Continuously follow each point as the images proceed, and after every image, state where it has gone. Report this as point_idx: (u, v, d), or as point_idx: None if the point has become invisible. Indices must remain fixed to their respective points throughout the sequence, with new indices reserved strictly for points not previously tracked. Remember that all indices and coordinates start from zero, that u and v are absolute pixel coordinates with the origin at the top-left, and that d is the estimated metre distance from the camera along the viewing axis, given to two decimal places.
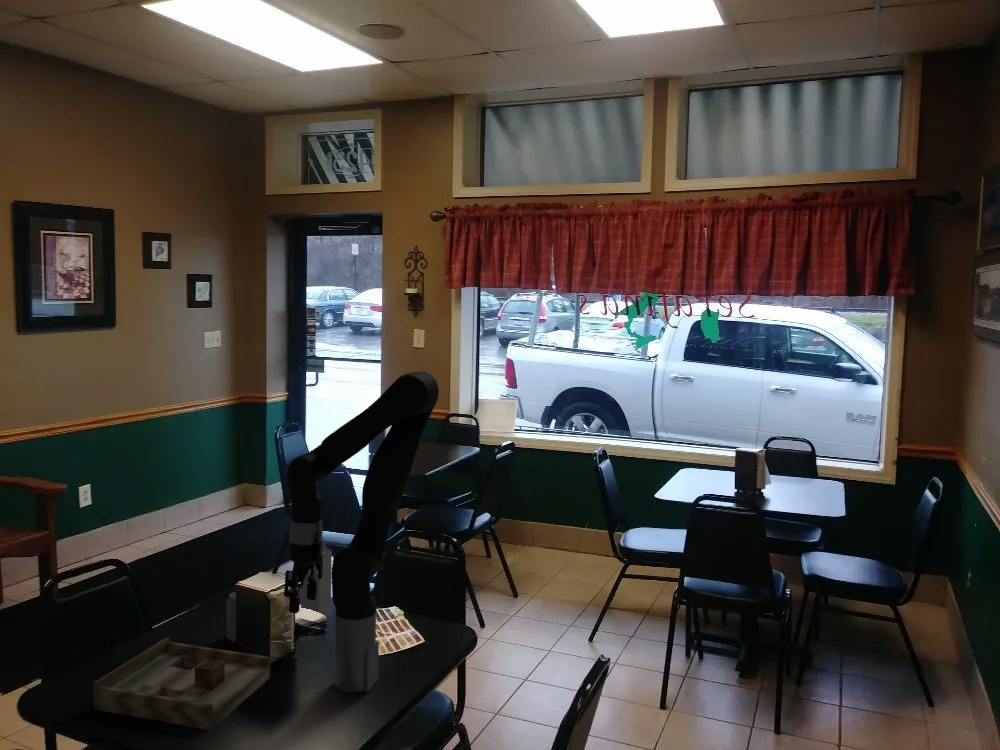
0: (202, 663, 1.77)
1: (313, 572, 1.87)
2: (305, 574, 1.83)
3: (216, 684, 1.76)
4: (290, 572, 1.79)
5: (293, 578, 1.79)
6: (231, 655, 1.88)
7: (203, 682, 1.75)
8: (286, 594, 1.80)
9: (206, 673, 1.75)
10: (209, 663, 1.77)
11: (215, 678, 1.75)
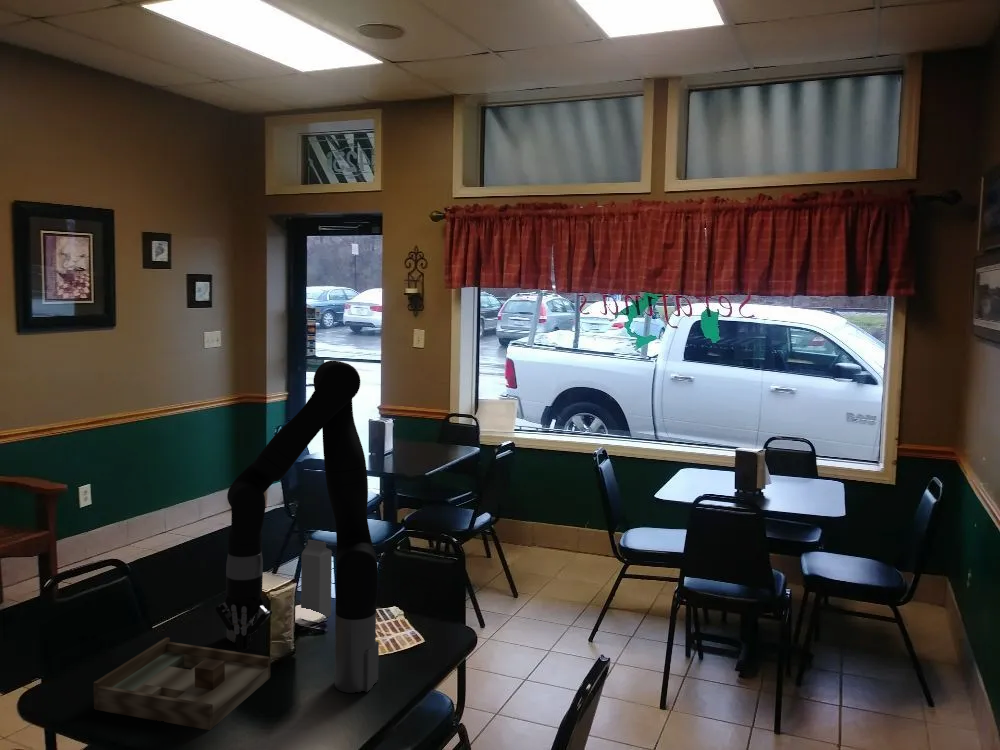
0: (202, 663, 1.77)
1: None
2: None
3: (216, 684, 1.76)
4: (269, 614, 1.72)
5: (268, 617, 1.73)
6: (231, 655, 1.88)
7: (203, 682, 1.75)
8: None
9: (206, 673, 1.75)
10: (209, 663, 1.77)
11: (215, 678, 1.75)
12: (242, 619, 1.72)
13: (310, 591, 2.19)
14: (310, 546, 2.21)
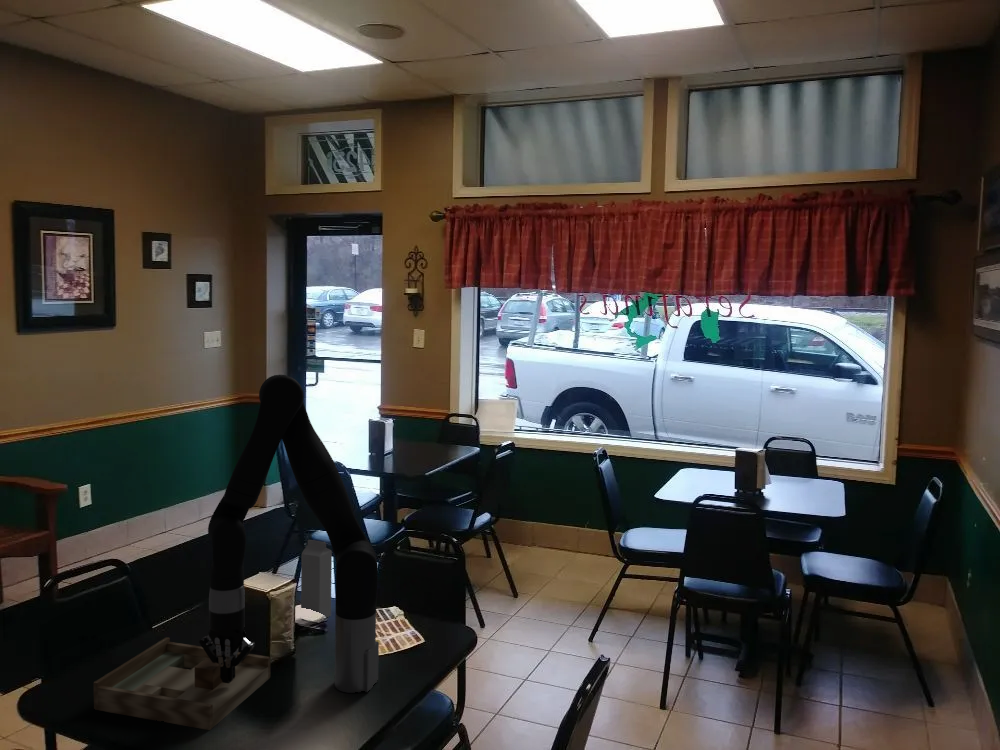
0: (202, 663, 1.77)
1: None
2: None
3: (216, 684, 1.76)
4: (252, 646, 1.74)
5: (252, 648, 1.75)
6: None
7: (202, 682, 1.75)
8: None
9: (206, 673, 1.75)
10: (208, 663, 1.77)
11: (215, 678, 1.76)
12: (226, 652, 1.74)
13: (310, 591, 2.19)
14: (310, 546, 2.21)
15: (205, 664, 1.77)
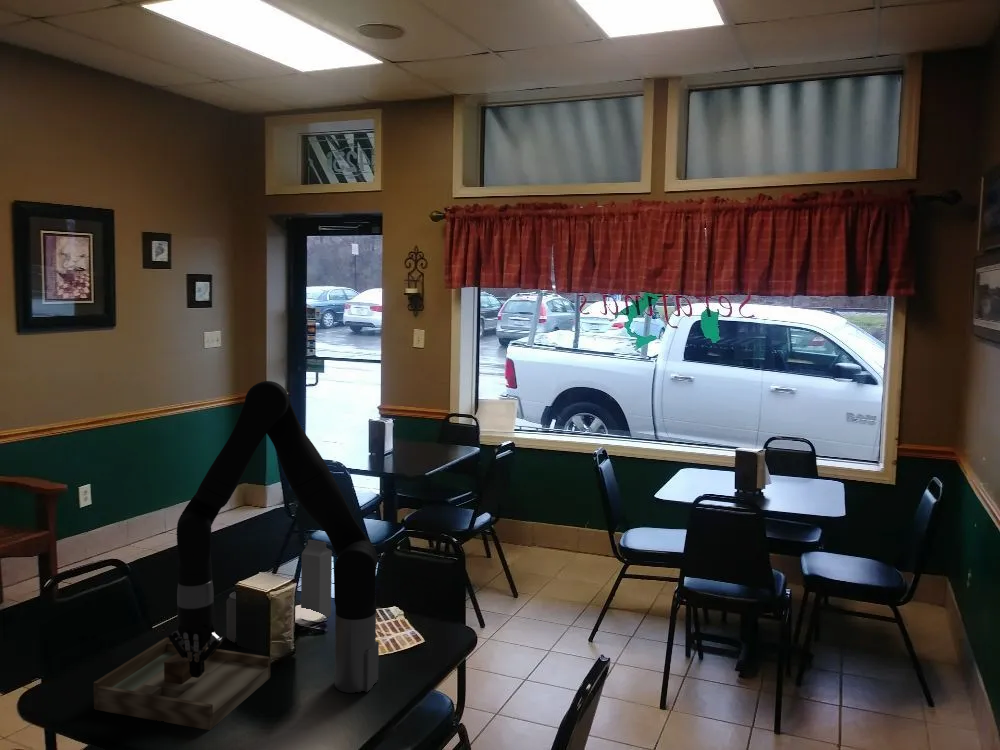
0: (172, 658, 1.79)
1: None
2: None
3: (185, 678, 1.78)
4: (220, 641, 1.76)
5: (220, 643, 1.77)
6: (231, 655, 1.88)
7: (172, 676, 1.77)
8: None
9: (175, 668, 1.77)
10: (178, 658, 1.79)
11: (184, 672, 1.77)
12: (194, 646, 1.75)
13: (310, 591, 2.19)
14: (310, 546, 2.21)
15: (175, 659, 1.79)
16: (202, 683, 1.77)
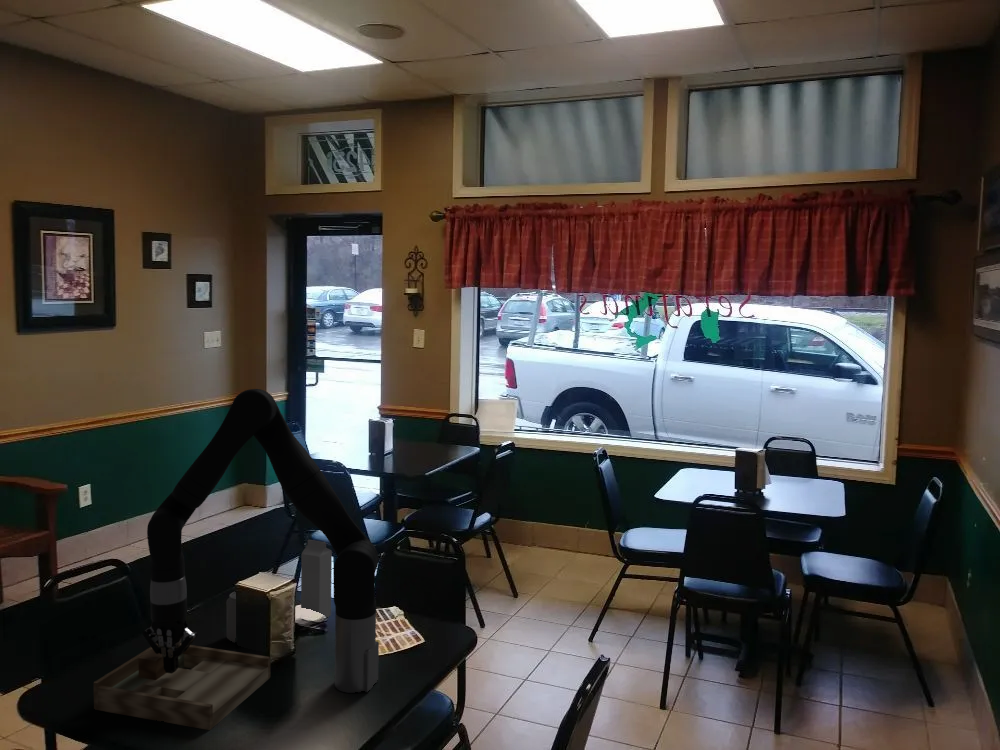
0: (147, 654, 1.81)
1: None
2: None
3: (159, 674, 1.79)
4: (193, 637, 1.77)
5: (194, 639, 1.78)
6: (231, 655, 1.88)
7: (146, 672, 1.79)
8: None
9: (150, 664, 1.78)
10: (153, 654, 1.81)
11: (159, 668, 1.79)
12: (168, 642, 1.77)
13: (310, 591, 2.19)
14: (310, 546, 2.21)
15: (149, 655, 1.80)
16: (202, 683, 1.77)
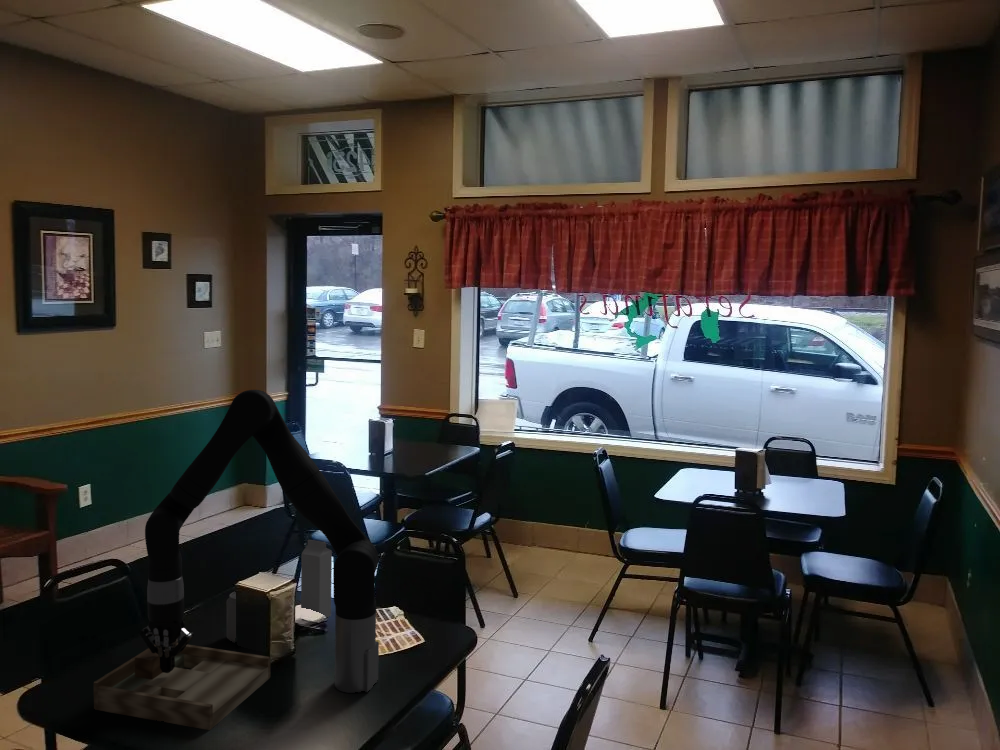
0: (143, 654, 1.81)
1: None
2: None
3: (156, 674, 1.80)
4: (190, 637, 1.77)
5: (190, 639, 1.79)
6: (231, 655, 1.88)
7: (142, 672, 1.79)
8: (177, 652, 1.78)
9: (146, 663, 1.78)
10: (149, 653, 1.81)
11: (155, 668, 1.79)
12: (164, 642, 1.77)
13: (310, 591, 2.19)
14: (310, 546, 2.21)
15: (145, 654, 1.81)
16: (202, 683, 1.77)
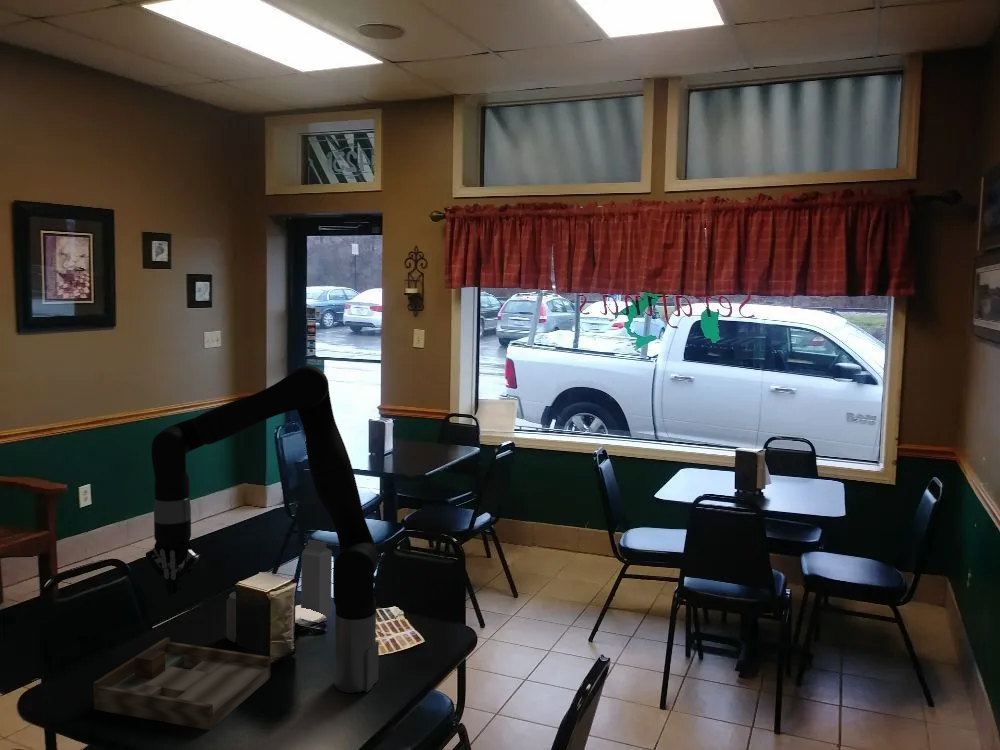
0: (143, 654, 1.81)
1: None
2: None
3: (156, 674, 1.80)
4: (197, 558, 1.75)
5: (197, 561, 1.76)
6: (231, 655, 1.88)
7: (142, 672, 1.79)
8: None
9: (146, 663, 1.78)
10: (149, 653, 1.81)
11: (155, 668, 1.79)
12: (171, 563, 1.75)
13: (310, 591, 2.19)
14: (310, 546, 2.21)
15: (145, 654, 1.81)
16: (202, 683, 1.77)
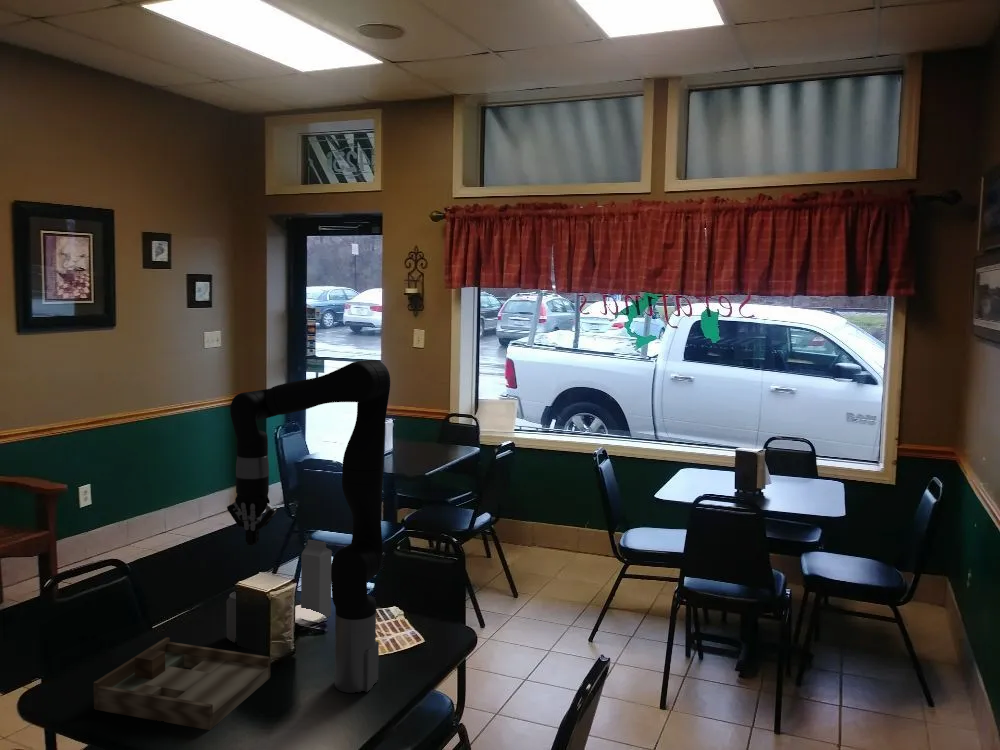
0: (143, 654, 1.81)
1: None
2: None
3: (156, 674, 1.80)
4: (275, 511, 1.91)
5: (274, 514, 1.92)
6: (231, 655, 1.88)
7: (142, 672, 1.79)
8: None
9: (146, 663, 1.78)
10: (149, 653, 1.81)
11: (155, 668, 1.79)
12: (251, 515, 1.91)
13: (310, 591, 2.19)
14: (310, 546, 2.21)
15: (145, 654, 1.81)
16: (202, 683, 1.77)
